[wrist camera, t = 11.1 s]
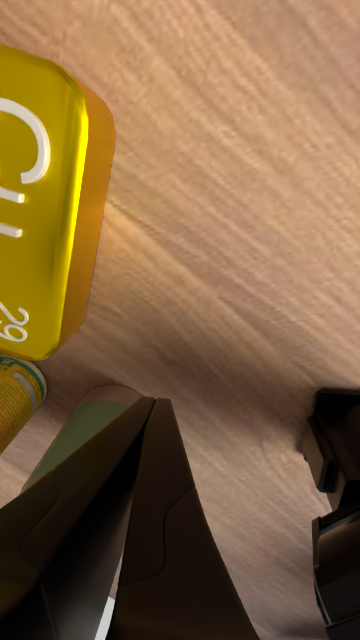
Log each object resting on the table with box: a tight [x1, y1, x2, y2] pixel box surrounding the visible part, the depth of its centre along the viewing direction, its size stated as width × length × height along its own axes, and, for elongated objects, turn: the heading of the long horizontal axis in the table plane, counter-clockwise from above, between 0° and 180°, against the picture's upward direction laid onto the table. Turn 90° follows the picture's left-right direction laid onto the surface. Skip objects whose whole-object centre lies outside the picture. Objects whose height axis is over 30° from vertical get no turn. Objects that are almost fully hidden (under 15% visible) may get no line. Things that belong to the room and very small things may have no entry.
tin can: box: [18, 385, 143, 578], centre depth 20 cm, size 7×7×10 cm
